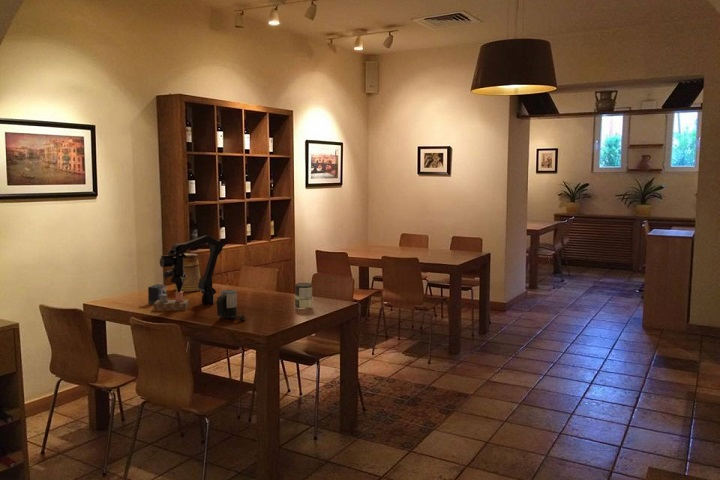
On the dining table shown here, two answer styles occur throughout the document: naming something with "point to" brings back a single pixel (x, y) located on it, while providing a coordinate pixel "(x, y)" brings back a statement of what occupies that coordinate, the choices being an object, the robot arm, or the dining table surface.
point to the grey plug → (163, 298)
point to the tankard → (190, 273)
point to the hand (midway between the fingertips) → (179, 291)
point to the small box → (155, 292)
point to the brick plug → (179, 296)
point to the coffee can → (303, 295)
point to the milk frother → (228, 305)
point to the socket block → (170, 305)
